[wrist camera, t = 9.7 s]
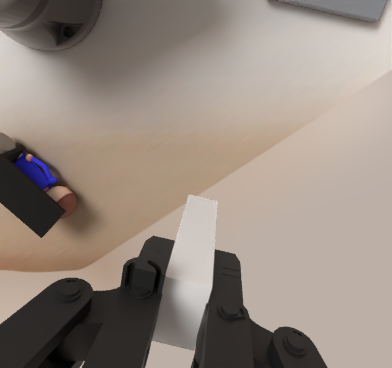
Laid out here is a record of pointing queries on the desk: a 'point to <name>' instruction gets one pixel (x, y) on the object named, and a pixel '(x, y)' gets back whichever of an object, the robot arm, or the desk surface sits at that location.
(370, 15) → the dial plate
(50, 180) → the figurine character
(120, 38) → the desk surface
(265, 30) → the desk surface
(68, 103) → the desk surface
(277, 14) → the desk surface
